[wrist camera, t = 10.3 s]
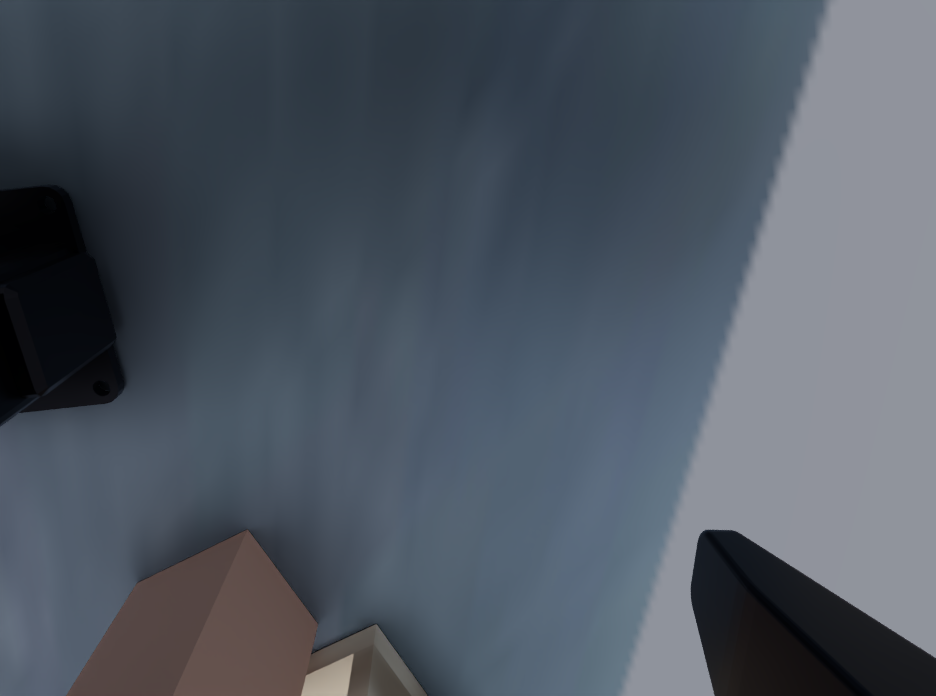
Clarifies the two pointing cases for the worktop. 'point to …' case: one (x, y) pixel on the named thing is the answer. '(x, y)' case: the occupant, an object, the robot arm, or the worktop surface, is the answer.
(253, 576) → the terracotta block
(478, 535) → the worktop surface
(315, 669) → the birch box
